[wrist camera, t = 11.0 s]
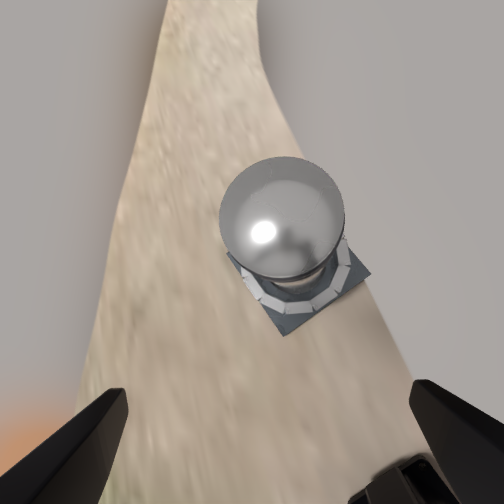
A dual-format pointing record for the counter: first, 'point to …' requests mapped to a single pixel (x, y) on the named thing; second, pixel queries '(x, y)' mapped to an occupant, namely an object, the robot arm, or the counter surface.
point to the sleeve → (311, 302)
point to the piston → (283, 222)
